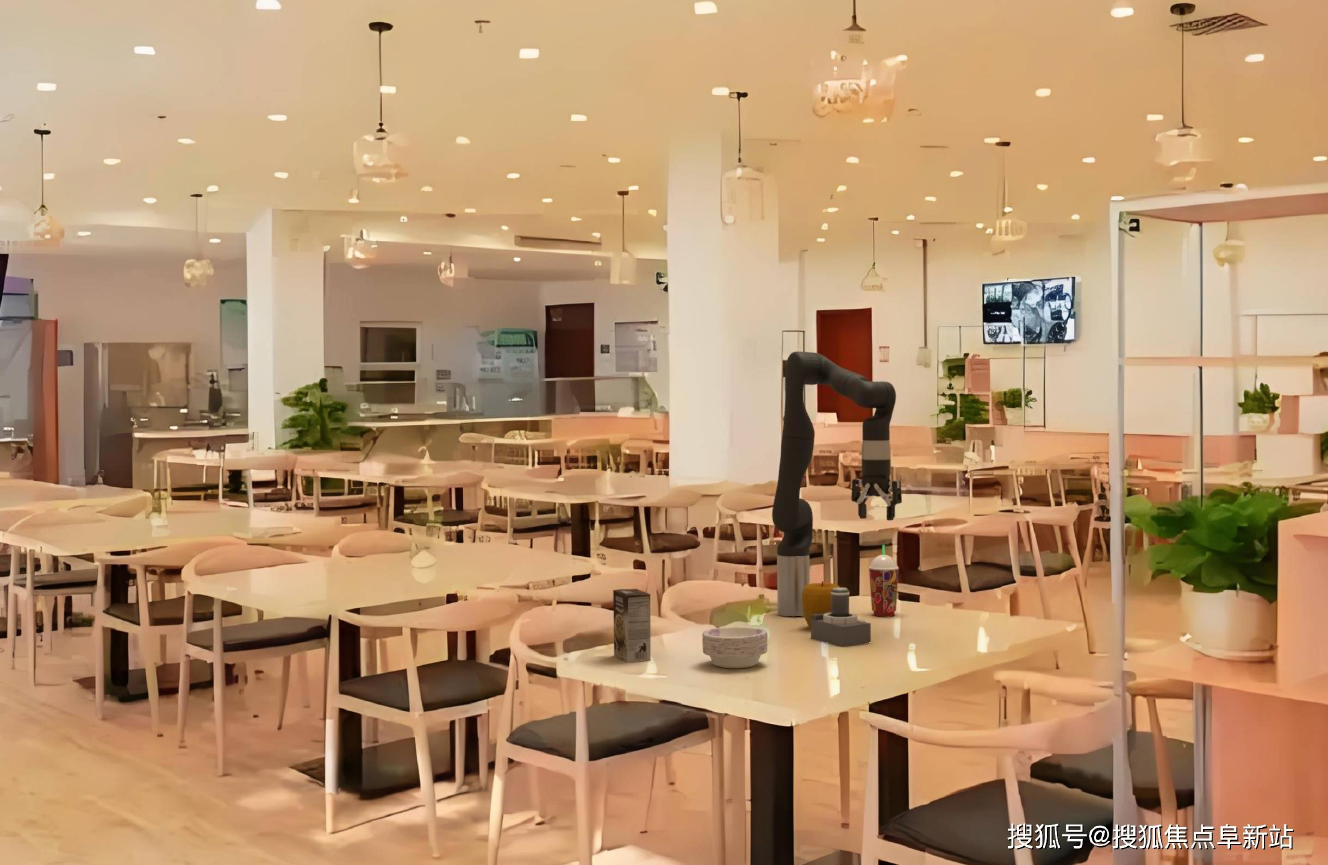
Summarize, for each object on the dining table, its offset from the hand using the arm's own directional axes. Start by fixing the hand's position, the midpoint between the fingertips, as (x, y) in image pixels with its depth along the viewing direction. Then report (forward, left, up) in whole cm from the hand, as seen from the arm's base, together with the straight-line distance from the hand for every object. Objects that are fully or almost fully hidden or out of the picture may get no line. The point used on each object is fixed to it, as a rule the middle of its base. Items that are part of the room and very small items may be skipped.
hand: (876, 519), depth 332 cm
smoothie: (-25, +14, -30) cm, 42 cm away
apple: (-11, -11, -30) cm, 34 cm away
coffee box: (+10, -69, -30) cm, 76 cm away
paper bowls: (+25, -48, -30) cm, 62 cm away
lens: (+6, -13, -25) cm, 29 cm away
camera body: (+6, -13, -30) cm, 33 cm away
